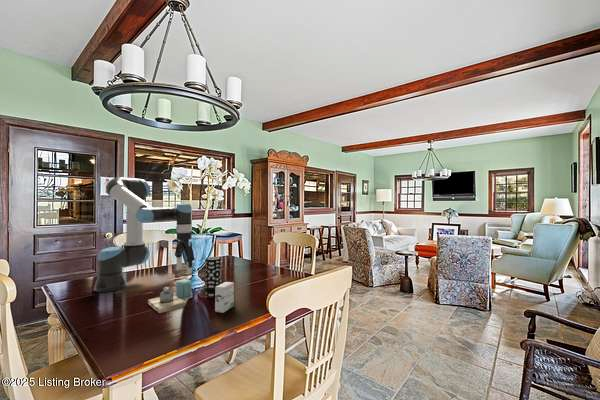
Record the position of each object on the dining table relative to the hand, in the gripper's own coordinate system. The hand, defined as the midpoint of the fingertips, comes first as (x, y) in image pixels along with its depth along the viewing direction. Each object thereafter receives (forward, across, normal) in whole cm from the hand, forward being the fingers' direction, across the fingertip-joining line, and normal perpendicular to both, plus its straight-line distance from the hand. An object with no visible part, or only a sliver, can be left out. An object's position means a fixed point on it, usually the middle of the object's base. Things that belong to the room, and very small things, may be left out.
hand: (184, 271), depth 150 cm
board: (+13, +8, -12) cm, 20 cm away
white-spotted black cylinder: (+13, +12, +11) cm, 21 cm away
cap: (+13, 0, 0) cm, 13 cm away
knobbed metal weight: (+11, +9, -12) cm, 18 cm away
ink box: (+14, +32, +6) cm, 36 cm away
